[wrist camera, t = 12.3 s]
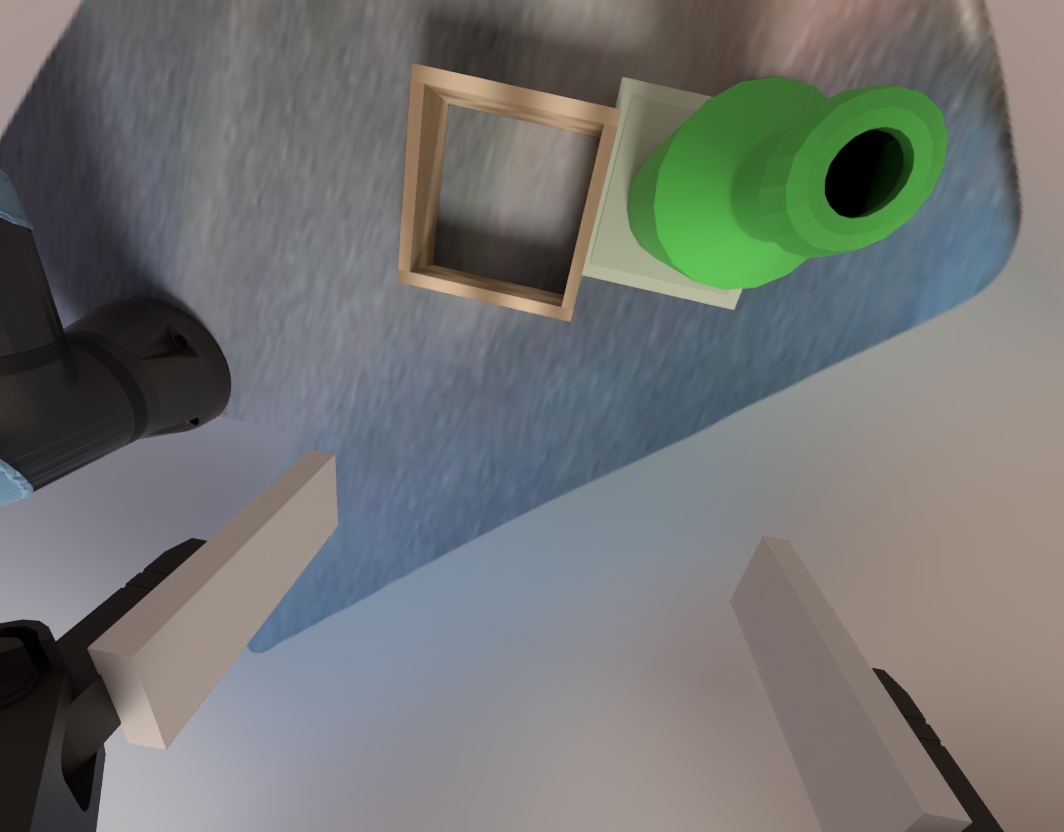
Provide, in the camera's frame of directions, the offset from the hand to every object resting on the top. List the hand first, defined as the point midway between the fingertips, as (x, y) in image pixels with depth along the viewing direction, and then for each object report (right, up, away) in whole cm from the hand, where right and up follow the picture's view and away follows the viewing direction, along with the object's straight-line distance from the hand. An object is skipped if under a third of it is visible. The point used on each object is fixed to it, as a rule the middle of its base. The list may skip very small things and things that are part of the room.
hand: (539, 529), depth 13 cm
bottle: (+12, +20, +21) cm, 32 cm away
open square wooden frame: (-2, +22, +25) cm, 34 cm away
